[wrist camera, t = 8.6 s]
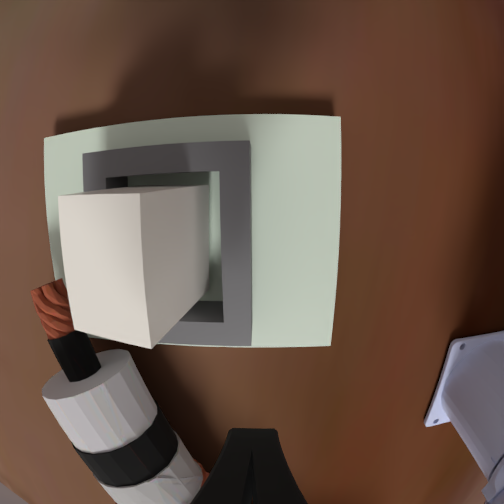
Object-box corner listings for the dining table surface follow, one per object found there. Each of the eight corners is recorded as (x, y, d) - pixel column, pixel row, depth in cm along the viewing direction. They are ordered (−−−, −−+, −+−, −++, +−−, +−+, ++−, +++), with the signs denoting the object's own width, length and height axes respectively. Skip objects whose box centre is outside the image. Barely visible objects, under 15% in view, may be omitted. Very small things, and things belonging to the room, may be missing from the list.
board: (334, 120, 15) (355, 107, 12) (326, 335, 18) (340, 370, 15) (55, 139, 16) (17, 135, 12) (75, 326, 18) (47, 353, 15)
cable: (126, 251, 21) (128, 253, 12) (269, 531, 26) (313, 586, 16) (5, 300, 17) (-62, 333, 8) (192, 562, 22) (221, 623, 13)
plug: (209, 184, 14) (140, 193, 9) (209, 288, 16) (151, 348, 10) (143, 184, 15) (58, 195, 9) (147, 281, 16) (74, 329, 11)
